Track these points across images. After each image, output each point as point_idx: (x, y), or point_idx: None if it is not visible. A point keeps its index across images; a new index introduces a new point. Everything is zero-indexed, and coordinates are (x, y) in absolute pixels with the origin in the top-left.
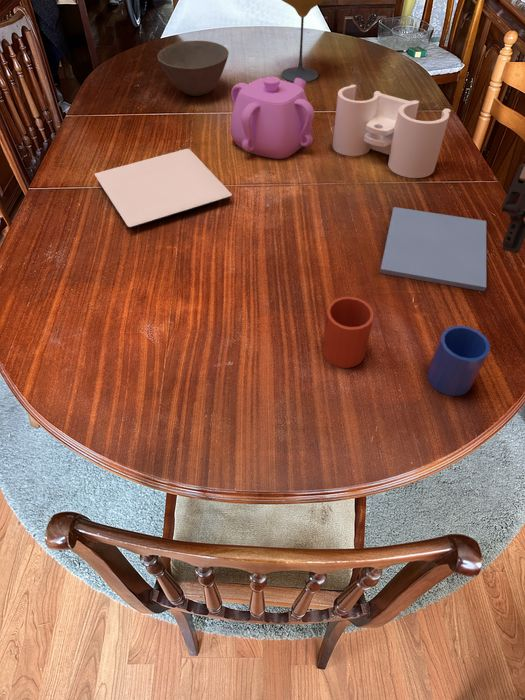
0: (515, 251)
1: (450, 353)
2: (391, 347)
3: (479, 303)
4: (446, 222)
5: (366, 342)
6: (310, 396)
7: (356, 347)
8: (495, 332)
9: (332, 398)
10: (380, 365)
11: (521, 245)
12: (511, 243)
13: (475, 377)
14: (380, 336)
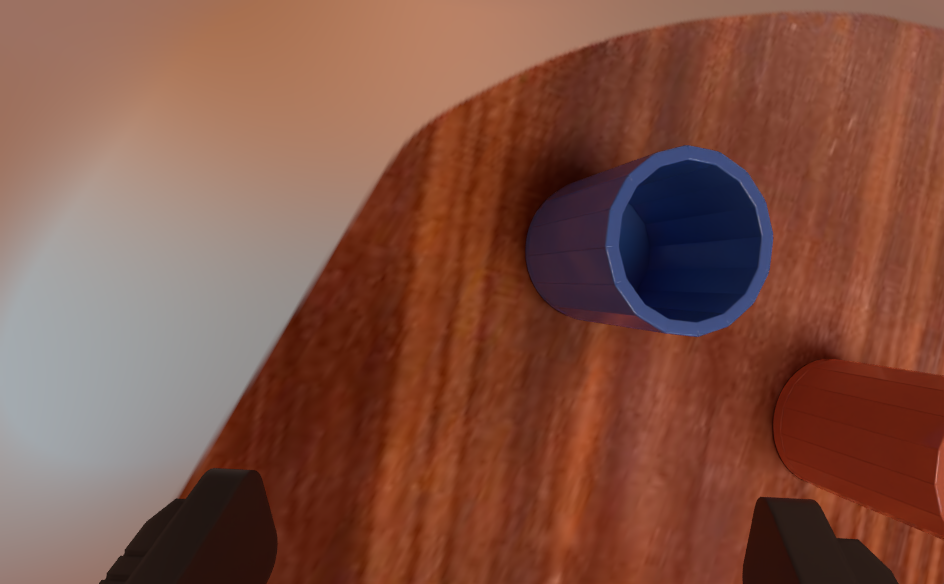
0: (802, 500)
1: (764, 206)
2: (698, 410)
3: (316, 568)
4: None
5: (862, 390)
6: (938, 287)
7: (904, 370)
8: (337, 409)
9: (895, 267)
10: (751, 348)
11: (791, 541)
12: (884, 569)
13: (592, 176)
14: (711, 461)
